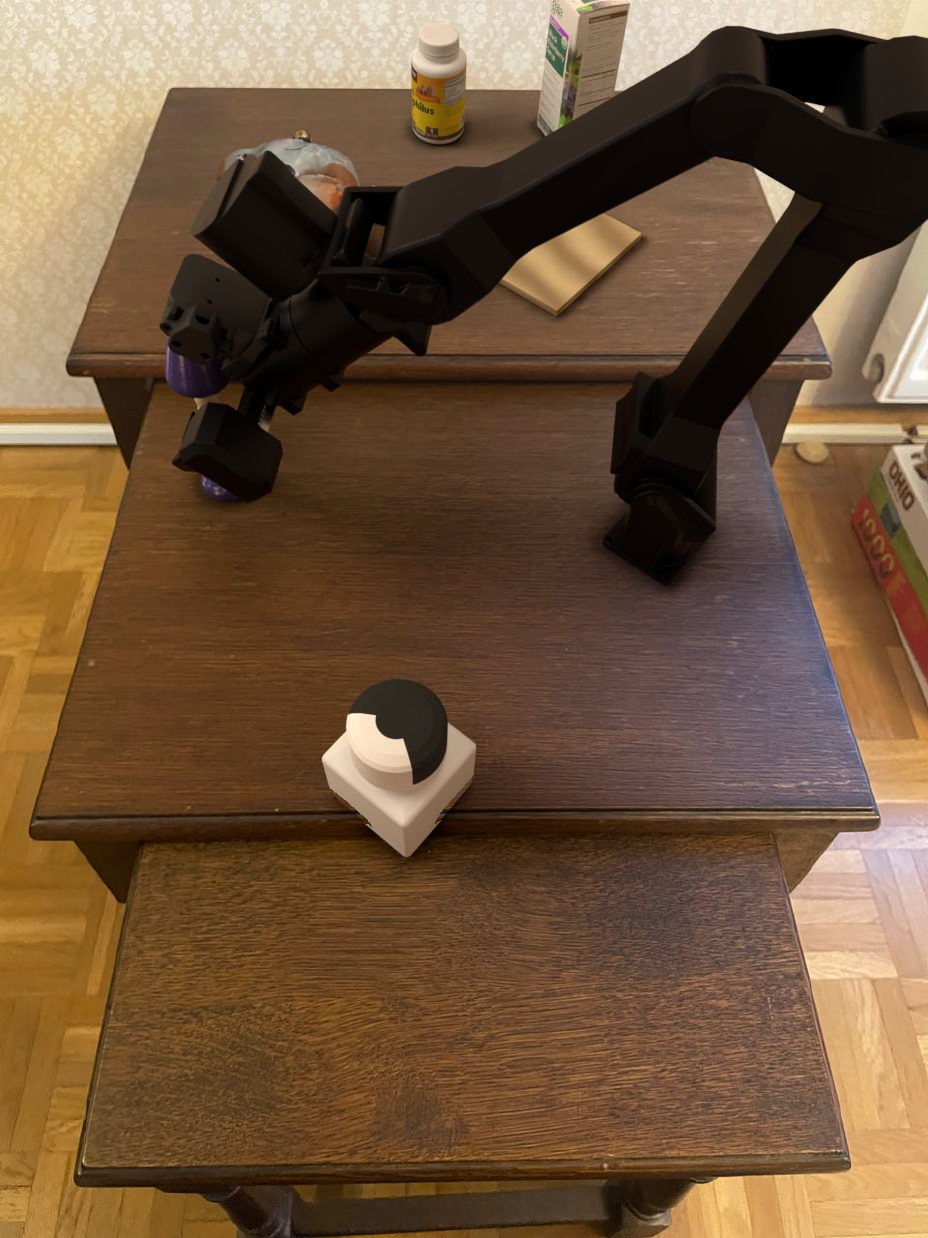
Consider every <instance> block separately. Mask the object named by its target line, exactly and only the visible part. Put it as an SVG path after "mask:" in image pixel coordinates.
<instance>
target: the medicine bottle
mask: <svg viewBox="0 0 928 1238" xmlns="http://www.w3.org/2000/svg"><path fill="white" fill-rule="evenodd" d="M447 714H448V713H447V710H446V709H445V706H444V705H443V703H442V701H441V699H440V698H439V697H438V695H437V694H436V693H435V692H434V691H432V690H431V689H430V688H429V687H427V686H426V685H423V684H422V683H420V682H417V681H414V680H410V679H406V678H405V679H404V678H391V679H386V680H382V681H379V682H376V683H374V684H372V685H370V686H369V687H367V688H366V689H364V690H363V691H362V692H361V693H360V694H359V695H358V696H357V697H356V699H355V700H353V703H352V704H351V707H349V711H348V713H347V717H346V722H345V723H346V724H345V729H346V731H345V732H343V734H342V735H341V736H340V737H339V738H337V740H336V741H335V742H334V743H333V744H332V745H331V746H330V748H328V749H327V750H326V752H325V753H324V754H323V755H322V757H321V762H322V765H323V769H324V774H325V776H326V780H327V784H328V787H330V788H329V790H330V789H332V790H333V791H334V792H335V793H337V794H338V795H339V796H340V797H342V798H343V799H344V800H346V801H347V802H348V803H349V804H350V805H351V806H352V807H354V808H355V809H356V810H357V811H358V812H359V813H360V814H361V815H363V816H364V817H365V818H366V819H367V820H368V822H370V824H371V826H372V827H371V826H370V825H369V824H365V825H366V826H367V827H368V828H369V829H370V830H372V831H373V832H374V833H375V834H376V835H377V836H379V837H380V839H382V840H384V841H385V842H386V843H387V844H388V845H389V846H390V847H392V848H393V849H394V850H395V851H397V852H398V853H399V854H400V855H401V856H403V857H405V858H410V857H411V856H412V854H414V852H415V851H416V850H417V849H418V848H419V847H420V845H421V844H422V843H423V842H424V841H425V840H426V839H427V837H428V836H429V835H430V834H431V833H432V831H434V830H435V828H436V827H437V826H438V825H439V823H440V822H442V820H440V821H438V822H437V823H436V824H435V822H436V820H437V818H438V817H439V815H440V813H441V812H442V811H443V809H444V808H445V807H446V806H447V805H448V804H449V802H450V801H451V800H452V799H453V798H454V797H455V796H456V794H457V793H458V792H459V791H460V790H461V789H462V788H463V787H464V786H465V784H466V783H467V782H468V781H469V780H470V779H471V778H472V776H473V777H474V774H475V763H476V755H477V754H476V753H477V745H476V743H475V742H474V741H473V740H471V738H469V737H468V736H466V734H464V733H462V732H461V731H460V730H459V729H457V728H456V727H455V726H453V724H451V723H450V722H449V721H448V719H449V718H448V715H447Z"/></svg>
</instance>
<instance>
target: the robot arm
mask: <svg viewBox="0 0 928 1238" xmlns="http://www.w3.org/2000/svg"><path fill="white" fill-rule="evenodd" d="M809 104H811V105H816V106H820V107H823V109H822V111H820V110H818V109H817V108H815V107H813V106H811V105H809ZM714 158H718V159H723V160H727V161H733V162H737V163H741V164H747V165H749V166H751V167H752V168H754V169H755V170H757V171H759V172H760V173H762V174H764V175H765V176H767V177H769V178H770V179H773V180H774V181H776V182H777V183H779V184H780V185H782V186H784V187H786V188H787V189H789V190H791V191H792V192H794V193H793V196H792V198H791V200H790V203H789V204H788V205H787V207H786V209H785V210H784V211H783V213H782V214H781V216H780V217H779V219H778V220H777V222H776V223H775V225H774V226H773V227H772V229H770V232H769V233H768V235H767V237H765V239H764V240H763V242H762V243H761V245H760V246H759V248H758V250H757V251H756V252H755V254H754V255H753V256H752V257H751V259H750V261H749V262H748V264H747V265H746V266H745V268H744V270H743V271H742V273H741V274H740V275H739V277H738V278H737V280H736V281H735V283H734V284H733V286H731V288H730V290H729V292H727V294H726V295H725V298H723V299H722V302H721V303H720V305H719V306H718V308H716V310H715V312H714V314H712V315H711V318H710V319H709V321H708V322H707V324H706V325H705V326H704V328H703V329H702V330H701V332H700V334H699V335H698V337H697V338H696V340H695V341H694V343H693V344H692V345H691V347H690V348H689V350H688V351H687V353H686V354H685V356H684V357H683V359H682V360H681V362H679V364H678V365H677V367H676V369H674V370H673V371H672V372H670V373H667V374H663V375H660V376H657V377H654V376H652V375H649V374H647V373H646V372H643V371H638V372H637V373H636V374H635V377H634V380H633V383H632V385H631V387H630V389H629V391H628V392H627V393H626V394H624V396H623V397H621V398H619V399H618V400H617V401H616V402H615V411H614V424H613V436H612V446H611V447H612V448H611V457H610V467H609V468H610V470H609V473H610V475H614V479H613V492H614V494H616V495H617V497H618V498H619V499H620V500H621V501H623V502H624V503H625V504H626V505H628V507H627V509H626V512H625V513H624V514H623V515H622V516H621V517H620V518H619V519H618V520H617V521H616V523H615V524H614V525H612V527H611V528H610V529H609V530H608V532H606V534H604V536H603V537H602V541H601V543H602V545H603V547H605V548H606V549H607V550H609V551H611V552H612V553H613V554H615V555H617V556H618V557H620V558H622V559H623V560H624V561H626V562H627V563H629V564H630V565H632V566H634V567H635V568H637V569H638V570H640V571H641V572H643V573H644V574H645V575H647V576H649V577H650V578H652V579H653V580H655V581H657V583H659V584H661V585H662V586H666V587H667V586H670V585H672V584H673V582H674V581H675V580H676V579H677V577H678V576H680V574H681V573H682V572H683V570H684V569H685V568H686V566H688V565H689V563H690V562H691V561H692V560H693V558H694V557H695V556H697V554H698V552H699V551H700V550H701V549H702V548H703V546H704V545H705V544H706V543H707V542H708V541H709V539H710V537H711V536H712V535H713V534H714V533H715V532H717V511H718V509H717V507H718V503H717V502H718V498H717V497H718V459H719V458H718V457H719V455H718V453H719V452H718V451H719V450H718V448H719V438H720V435H721V431H722V429H723V427H724V425H725V423H726V422H727V421H728V419H729V418H730V417H731V416H732V415H733V413H735V411H736V410H737V408H738V407H739V406H740V405H741V403H743V401H744V400H745V398H747V396H748V395H749V394H750V392H751V391H752V390H753V389H754V388H755V386H756V385H757V384H758V382H759V381H760V380H761V379H762V377H763V376H764V375H765V374H766V373H767V371H768V370H769V369H770V368H771V367H772V365H773V364H774V363H775V362H776V360H777V359H778V358H779V356H780V355H781V354H782V353H783V352H784V350H785V349H786V348H787V346H789V344H790V343H791V342H792V340H793V339H794V338H795V337H796V336H797V334H798V333H799V331H800V330H801V329H803V327H804V325H806V323H807V322H808V320H809V319H810V318H811V317H812V316H813V314H814V313H815V312H816V311H817V310H818V308H819V307H820V306H821V304H822V303H823V302H824V301H825V300H826V298H827V297H828V296H829V295H830V293H831V292H833V290H834V288H835V287H836V286H837V285H838V284H839V282H840V281H841V280H842V279H843V277H844V276H845V275H846V274H847V272H848V271H849V270H850V269H851V268H852V267H853V266H854V265H855V264H856V263H857V262H858V261H861V260H864V259H866V258H868V257H869V258H870V257H871V256H874V255H877V254H879V253H881V252H884V251H887V250H889V249H892V248H894V247H896V246H898V245H901V244H902V243H904V242H905V240H907V239H908V238H909V237H911V235H913V233H915V232H916V231H917V230H918V229H919V228H920V227H922V225H924V224H925V223H926V222H927V221H928V37H925V36H921V35H915V34H913V35H904V36H903V35H902V36H895V37H892V38H889V39H885V38H881V37H877V36H872V35H868V34H865V33H864V34H863V33H861V32H860V33H859V32H855V31H851V30H846V29H842V28H835V27H832V28H831V27H830V28H821V29H811V30H803V31H794V32H784V33H773V32H769V31H765V30H760V29H757V28H752V27H746V26H743V25H725V26H723V27H720V28H717V29H714V30H712V31H710V32H709V33H708V34H707V35H706V36H705V37H704V38H702V39H701V40H700V41H699V42H698V44H697V45H696V46H695V47H694V48H692V50H690V51H689V52H688V53H686V54H684V55H682V56H681V57H679V58H678V59H675V60H674V61H673V62H670V63H669V64H667V65H665V66H664V67H662V68H660V69H659V70H656V71H655V72H654V73H651V74H650V75H648V76H647V77H645V78H643V79H642V80H639V81H638V82H636V83H635V84H633V85H631V86H629V87H628V88H626V89H624V90H623V91H620V92H619V93H617V94H615V95H614V96H613V97H612V98H610V99H609V100H607V101H605V102H604V103H602V104H600V105H598V106H597V107H595V108H593V109H591V110H590V111H588V112H586V113H585V114H583V115H581V116H579V117H578V118H576V119H574V120H573V121H571V122H569V123H567V124H566V125H564V126H562V127H561V128H559V129H557V130H555V131H554V132H552V133H550V134H548V135H547V136H545V135H544V136H543V137H542V138H540V139H538V140H536V141H535V142H533V143H531V144H530V145H528V146H526V147H524V148H523V149H521V150H519V151H518V152H516V153H514V154H512V155H511V156H509V157H507V158H506V159H503V160H501V161H498V162H495V163H492V164H490V165H487V166H467V165H466V166H465V165H456V166H452V167H450V168H447V169H444V170H441V171H439V172H436V173H434V174H430V175H427V176H426V177H423V178H420V179H417V180H414V181H412V182H410V183H408V184H406V185H393V186H392V185H390V186H389V185H381V186H379V185H377V186H372V185H366V186H363V185H361V186H348V187H345V188H344V190H343V192H342V196H341V199H340V202H339V205H338V206H337V207H335V208H334V209H333V210H331V209H330V208H329V207H327V206H326V205H325V204H324V203H323V202H322V201H321V200H320V199H319V198H318V197H317V196H315V195H314V194H313V193H312V192H311V191H310V190H309V189H308V188H307V187H306V186H304V185H303V184H302V183H301V182H300V181H299V180H298V179H297V178H296V177H295V176H294V175H293V173H292V172H291V171H290V169H289V168H288V167H287V166H286V164H285V163H284V162H283V161H281V160H280V159H279V158H278V157H277V156H276V155H275V154H274V153H273V152H272V151H268V150H266V151H265V152H264V153H263V154H261V155H260V156H259V157H258V158H257V157H256V156H255V155H249V156H247V157H246V158H244V159H243V160H241V159H240V158H238V159H237V160H236V161H235V162H234V163H233V164H232V165H231V166H230V167H229V168H228V169H227V170H226V171H225V173H224V174H223V175H222V176H221V177H220V179H219V180H218V181H217V180H216V182H217V183H216V182H215V184H214V185H213V186H212V188H211V190H210V191H209V192H208V194H207V195H206V196H205V198H204V200H203V202H202V203H201V205H200V207H199V208H198V211H197V212H196V215H195V216H194V219H193V221H192V224H191V227H190V234H191V236H192V237H194V238H195V239H196V240H197V241H199V242H200V243H201V244H202V245H203V246H205V247H206V248H207V249H208V250H210V251H211V252H212V253H214V254H215V255H216V256H217V257H218V258H220V259H221V260H222V261H223V262H225V263H226V264H227V265H229V266H230V267H231V268H230V267H227V266H226V265H224V264H222V263H219V262H217V261H216V260H215V261H214V260H213V259H211V258H208V257H207V256H204V255H202V254H199V253H190V254H187V255H185V256H184V257H183V258H182V261H181V263H180V266H179V267H178V271H177V273H176V275H175V278H174V280H173V283H172V286H171V288H170V290H169V292H168V297H167V300H166V303H165V307H164V310H163V313H162V316H161V320H160V323H159V329H160V330H161V331H162V332H163V334H164V335H166V336H168V337H170V338H169V341H168V347H169V348H170V350H171V351H172V352H173V353H175V354H177V355H179V356H182V357H184V358H186V359H189V360H191V361H193V362H196V363H198V364H200V365H203V366H206V365H211V364H212V363H213V361H214V359H215V357H218V356H219V357H222V358H226V359H225V360H224V362H223V365H222V368H221V370H222V371H223V372H225V373H226V374H227V375H229V376H230V377H231V379H233V380H235V381H239V382H240V384H241V385H242V386H243V391H242V394H241V397H240V400H239V402H238V406H237V409H235V408H234V407H232V406H231V405H229V404H227V403H221V402H219V403H214V402H207V403H206V404H204V405H203V406H202V407H200V408H199V409H198V408H197V410H196V412H195V411H191V413H190V416H189V419H188V421H187V425H186V426H185V430H184V433H183V435H182V438H181V443H180V444H181V445H180V446H179V450H178V452H177V453H176V454H175V456H174V457H173V458H172V460H171V464H172V466H174V467H176V468H177V469H178V470H180V471H182V472H189V473H197V474H199V475H201V476H202V475H203V476H205V477H206V478H208V479H209V480H211V481H212V482H214V483H216V484H217V485H219V486H220V487H222V488H223V489H225V490H227V491H228V492H230V493H231V494H233V495H234V496H236V497H238V498H239V499H238V500H241V501H242V502H244V503H246V504H251V503H254V502H257V501H259V500H261V499H262V498H264V497H266V496H267V495H269V494H271V493H272V492H273V490H274V485H275V482H276V479H277V476H278V473H279V469H280V465H281V462H282V459H283V455H284V451H283V446H282V441H281V440H280V439H279V438H277V437H275V436H274V435H273V434H271V433H270V428H271V425H272V422H273V418H274V416H275V412H276V409H277V407H278V406H279V407H281V409H283V410H285V412H287V413H288V414H290V415H291V416H293V417H294V416H296V415H298V414H299V413H301V412H302V411H303V409H304V406H305V404H306V403H305V402H306V399H307V396H308V393H309V392H311V391H312V390H315V388H317V387H318V386H322V387H323V388H324V389H326V390H327V391H328V392H329V393H333V392H334V391H336V390H337V389H338V388H340V387H341V386H342V382H343V379H344V375H345V371H346V369H347V368H348V367H349V366H351V365H352V364H353V363H355V362H356V361H359V360H360V359H361V358H363V357H365V356H366V355H368V354H369V353H370V352H372V351H374V350H375V349H376V348H378V347H379V346H381V345H382V344H384V343H386V342H387V341H389V340H390V339H392V338H395V339H397V340H398V341H399V342H400V343H401V344H403V345H404V346H405V347H406V348H407V349H408V350H410V351H411V352H412V353H413V354H414V355H415V356H417V357H424V356H426V355H427V353H428V348H429V344H430V343H429V342H430V339H431V333H432V329H433V326H439V325H443V324H446V323H450V322H452V321H453V320H455V319H456V318H458V317H460V316H461V315H462V314H464V313H465V312H466V311H468V310H469V309H470V308H472V307H473V306H475V305H476V304H477V303H479V302H480V301H481V300H483V299H484V298H486V297H487V296H488V295H489V294H490V293H491V292H493V290H494V289H495V288H496V287H497V286H498V284H500V283H499V282H500V281H501V280H502V278H503V277H504V276H505V275H506V274H507V272H508V271H509V270H510V269H511V268H512V267H513V265H514V264H515V263H516V262H517V261H518V260H519V259H520V258H522V257H523V256H524V255H526V254H527V253H528V252H530V251H531V250H533V249H534V248H536V247H538V246H540V245H542V244H544V243H546V242H548V241H550V240H552V239H554V238H556V237H558V236H560V235H562V234H564V233H566V232H568V231H570V230H572V229H573V228H575V227H577V226H579V225H581V224H583V223H585V222H587V221H589V220H591V219H593V218H595V217H597V216H599V215H601V214H603V213H604V214H606V213H608V212H609V211H611V210H613V209H615V208H617V207H619V206H621V205H623V204H625V203H628V202H629V201H631V200H633V199H634V198H636V197H639V196H641V195H642V194H645V193H647V192H649V191H650V190H652V189H655V188H657V187H659V186H660V185H662V184H665V183H666V182H668V181H671V180H673V179H674V178H676V177H678V176H680V175H682V174H685V173H686V172H689V171H690V170H692V169H694V168H697V167H698V166H700V165H702V164H705V163H706V162H708V161H710V160H713V159H714ZM374 225H378V226H382V227H384V228H383V231H382V234H381V238H380V241H379V245H378V249H377V252H376V256H375V257H373V256H372V255H370V254H368V253H366V252H367V249H368V248H367V247H368V245H369V241H370V239H371V234H372V230H373V227H374ZM609 541H610V542H609Z"/></svg>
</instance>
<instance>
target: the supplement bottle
mask: <svg viewBox="0 0 928 1238" xmlns="http://www.w3.org/2000/svg"><path fill="white" fill-rule="evenodd" d="M410 56H411V57H410V70H411V71H410V74H411V78H410V79H411V125H412V131H413V132H414V134H415V136H417V137H418V138H419V139H420V140H421V141H423V142H425V143H428V144H433V145H445V144H450V143H452V142H454V141H456V140H457V139H460V137H461V136H462V135H463V132H464V130H465V119H466V96H467V95H466V94H467V93H466V91H467V90H466V89H467V55H466V52H465V51H464V50H463V48H462V47H461V46H460V33H459V30H457V28H456V27H454V26H453V25H451V24H448V23H445V22H432V23H431V22H430V23H428V24H425V25H424V26H422V27H421V28H420V29H419V32H418V43H417V46H416V47H415V48H414V49H413V51H412V52H411V55H410Z"/></svg>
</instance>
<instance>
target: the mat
mask: <svg viewBox="0 0 928 1238" xmlns="http://www.w3.org/2000/svg"><path fill="white" fill-rule="evenodd" d="M641 239H642V232H641V231H638V230H636V229H634V228H633V227H631V226H628V225H627V224H625V223H623V222H621V221H619V220H618V219H616V218H614V217H612V216H611V215H609V214H606V213H603V214H601V215H599V216H597V217H595V218H593V219H591V220H589V221H587V222H585V223H583V224H581V225H579V226H577V227H575V228H573V229H572V230H570V231H568V232H566V233H564V234H562V235H560V236H558V237H556V238H554V239H552V240H550V241H548V242H546V243H544V244H542V245H540V246H538V247H536V248H534V249H533V250H531V251H530V252H528V253H527V254H526V255H524V256H523V257H522V258H520V259H519V260H518V261H517V262H516V263H515V264H514V265H513V267H512V268H511V269H510V270H509V271H508V272H507V274H506V275H505V276H504V277H503V278H502V280H501V281H500V282H499V283H498V284H500V285H501V286H503V287H505V288H506V289H508V290H510V291H512V292H513V293H515V294H517V295H519V296H520V297H521V298H523V299H525V300H527V301H528V302H530V303H532V304H533V305H536V306H537V307H539V308H540V309H542V310H544V311H545V312H548V313H549V314H551V315H553V316H554V317H558V316H559V315H560V314H561V313H563V311H565V310H566V309H567V308H568V307H569V306H570V305H571V304H572V303H573V302H575V300H577V299H578V298H579V297H580V296H581V295H582V294H583V293H584V292H585V291H586V290H587V289H589V288H590V287H592V285H593V284H594V283H595V282H596V281H597V280H598V279H599V278H600V277H602V276H603V275H604V274H605V273H606V272H607V271H608V270H609V269H610V268H612V267H613V266H614V265H615V264H617V262H618V261H619V260H620V259H622V258H623V256H624V255H625V254H627V253H628V252H629V251H630V250H632V248H633V247H634V246H635V245H637V244H638V243H639V242H640V241H641Z"/></svg>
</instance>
